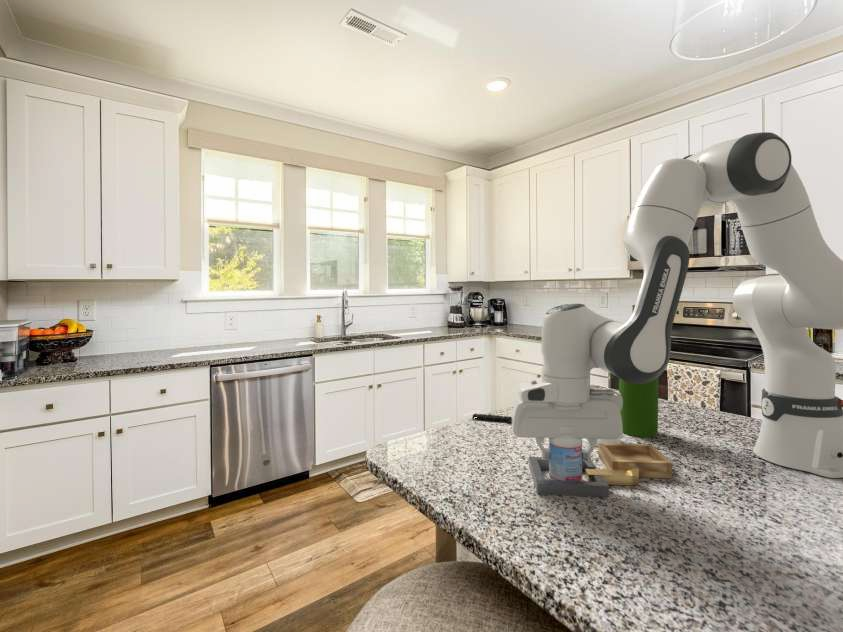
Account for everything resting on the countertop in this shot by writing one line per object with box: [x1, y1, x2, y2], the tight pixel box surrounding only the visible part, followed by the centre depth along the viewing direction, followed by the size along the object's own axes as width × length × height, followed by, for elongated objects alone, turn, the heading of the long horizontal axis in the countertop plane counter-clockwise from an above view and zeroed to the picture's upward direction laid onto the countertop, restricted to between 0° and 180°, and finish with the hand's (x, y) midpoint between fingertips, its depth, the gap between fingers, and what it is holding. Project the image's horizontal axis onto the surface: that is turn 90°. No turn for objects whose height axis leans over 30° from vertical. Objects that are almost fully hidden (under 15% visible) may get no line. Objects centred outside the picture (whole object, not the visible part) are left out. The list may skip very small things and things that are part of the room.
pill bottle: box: [548, 426, 583, 481], centre depth 82 cm, size 6×6×11 cm
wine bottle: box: [618, 304, 659, 438], centre depth 108 cm, size 9×9×32 cm
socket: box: [528, 456, 610, 498], centre depth 82 cm, size 12×12×2 cm
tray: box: [597, 443, 673, 479], centre depth 88 cm, size 11×10×3 cm
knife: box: [472, 413, 512, 425], centre depth 119 cm, size 25×2×5 cm
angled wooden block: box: [584, 463, 640, 487], centre depth 81 cm, size 9×3×3 cm, turn 83°
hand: (565, 459), depth 82 cm, fingers closed on pill bottle, 6 cm apart
